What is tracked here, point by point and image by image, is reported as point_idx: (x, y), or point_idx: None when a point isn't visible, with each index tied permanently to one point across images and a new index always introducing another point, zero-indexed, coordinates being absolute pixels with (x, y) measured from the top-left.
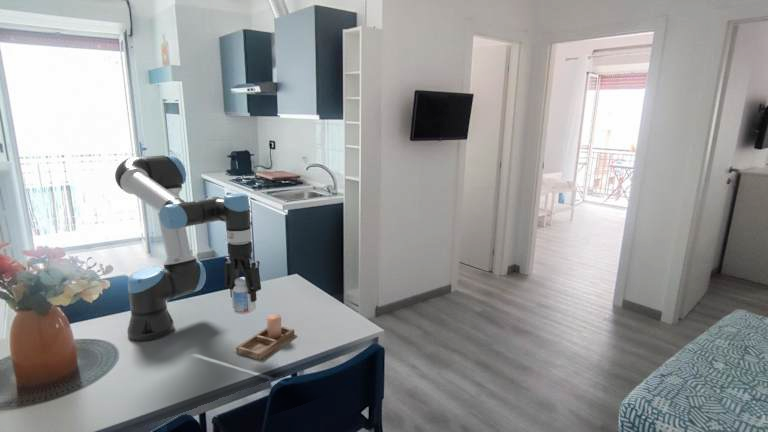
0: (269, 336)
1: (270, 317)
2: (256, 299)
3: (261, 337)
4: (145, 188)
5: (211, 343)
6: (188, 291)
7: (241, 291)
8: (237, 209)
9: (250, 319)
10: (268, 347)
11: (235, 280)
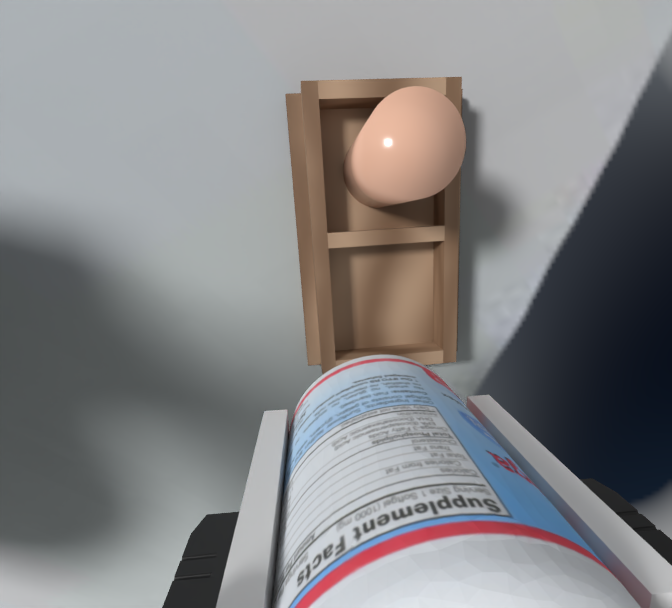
0: (380, 206)
1: (396, 161)
2: (613, 491)
3: (360, 244)
4: None
5: (139, 345)
6: None
7: None
8: None
9: (68, 28)
10: (452, 301)
11: None
